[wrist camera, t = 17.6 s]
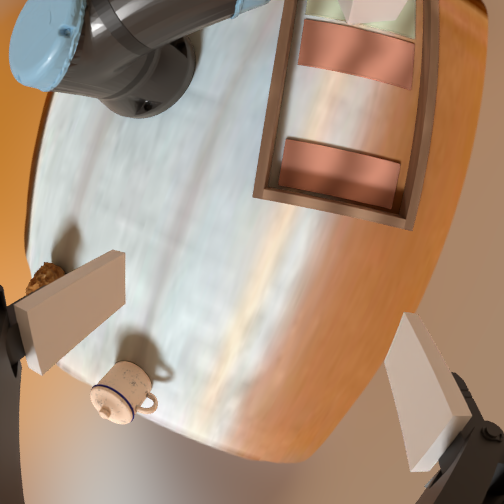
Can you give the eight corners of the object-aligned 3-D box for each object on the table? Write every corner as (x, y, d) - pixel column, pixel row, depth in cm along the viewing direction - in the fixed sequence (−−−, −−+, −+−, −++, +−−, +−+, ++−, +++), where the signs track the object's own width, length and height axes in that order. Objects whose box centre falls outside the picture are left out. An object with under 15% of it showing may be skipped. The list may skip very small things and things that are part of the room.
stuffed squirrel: (49, 313, 55) (7, 342, 43) (43, 249, 51) (-7, 271, 38) (85, 328, 54) (43, 363, 42) (80, 261, 50) (28, 288, 37)
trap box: (257, 194, 41) (252, 197, 38) (295, -39, 30) (293, -51, 27) (404, 225, 39) (412, 231, 35) (430, -8, 28) (437, -18, 24)
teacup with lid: (115, 386, 57) (86, 421, 46) (111, 352, 54) (77, 387, 43) (167, 406, 56) (143, 447, 45) (167, 373, 53) (139, 415, 42)
